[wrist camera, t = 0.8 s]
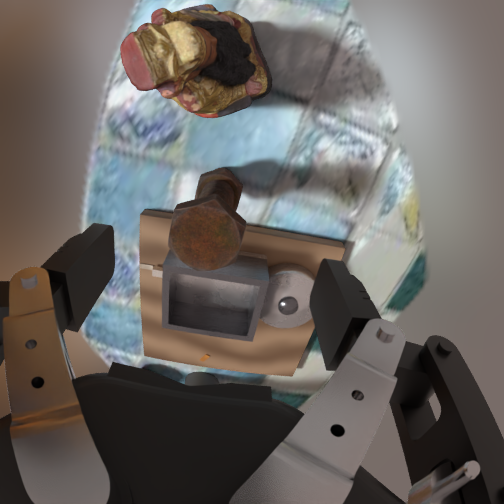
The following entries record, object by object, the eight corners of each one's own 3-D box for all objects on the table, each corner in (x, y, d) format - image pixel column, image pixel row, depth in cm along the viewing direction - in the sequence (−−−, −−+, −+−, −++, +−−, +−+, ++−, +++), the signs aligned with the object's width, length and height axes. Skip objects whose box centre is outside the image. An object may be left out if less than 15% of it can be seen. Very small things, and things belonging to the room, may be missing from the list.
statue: (274, 100, 29) (309, 111, 12) (202, 116, 30) (138, 150, 13) (251, 2, 23) (252, -95, 6) (179, 19, 24) (96, -49, 7)
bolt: (241, 153, 32) (236, 195, 19) (252, 194, 35) (254, 261, 21) (192, 166, 33) (153, 217, 20) (204, 206, 35) (178, 277, 22)
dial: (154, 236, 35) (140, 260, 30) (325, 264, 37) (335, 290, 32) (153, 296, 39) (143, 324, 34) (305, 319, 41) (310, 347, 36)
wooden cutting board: (144, 209, 35) (139, 215, 33) (341, 241, 38) (345, 249, 36) (147, 348, 47) (144, 356, 45) (291, 368, 49) (292, 377, 48)
